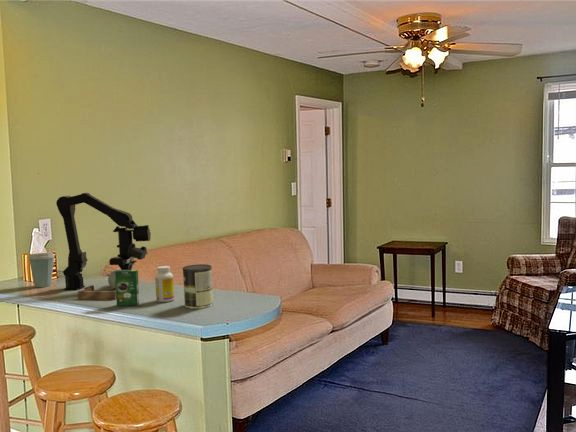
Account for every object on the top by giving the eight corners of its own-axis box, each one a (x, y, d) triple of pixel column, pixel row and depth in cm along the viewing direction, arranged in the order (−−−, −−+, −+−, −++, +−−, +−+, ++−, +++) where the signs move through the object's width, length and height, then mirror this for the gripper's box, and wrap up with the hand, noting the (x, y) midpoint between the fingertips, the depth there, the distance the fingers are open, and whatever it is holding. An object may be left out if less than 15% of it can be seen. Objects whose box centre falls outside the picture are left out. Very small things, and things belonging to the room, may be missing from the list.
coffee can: (181, 309, 204) (179, 269, 203) (187, 302, 215) (185, 264, 213) (211, 308, 204) (208, 268, 203) (215, 301, 214) (213, 263, 213)
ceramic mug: (115, 292, 237) (114, 273, 237) (108, 289, 244) (107, 271, 243) (139, 289, 244) (139, 270, 243) (132, 286, 250) (131, 268, 250)
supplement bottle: (177, 299, 221) (176, 265, 220) (168, 303, 215) (166, 268, 214) (162, 298, 223) (160, 265, 222) (153, 302, 217) (151, 268, 216)
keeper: (75, 298, 228) (75, 291, 228) (91, 292, 239) (91, 285, 239) (117, 299, 224) (117, 292, 223) (132, 293, 234) (132, 285, 234)
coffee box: (140, 304, 215) (138, 268, 214) (138, 305, 212) (135, 270, 211) (119, 304, 216) (116, 269, 214) (116, 306, 213) (114, 271, 212)
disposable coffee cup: (30, 285, 259) (27, 252, 258) (56, 282, 264) (53, 249, 263) (30, 289, 250) (28, 255, 249) (57, 286, 254) (55, 252, 253)
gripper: (132, 245, 237) (134, 282, 238) (152, 239, 255) (155, 274, 256) (107, 245, 240) (109, 282, 241) (129, 239, 258) (131, 273, 259)
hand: (127, 278), depth 249 cm, fingers closed
